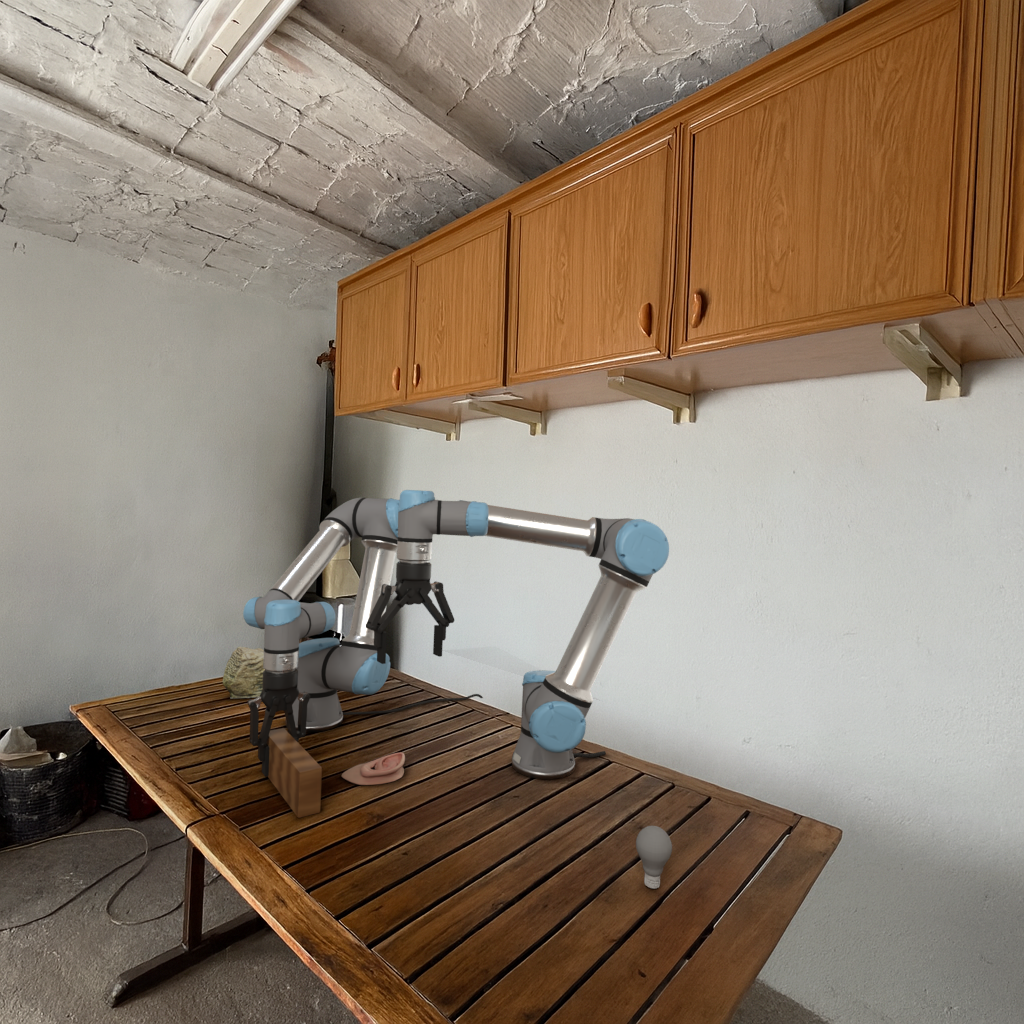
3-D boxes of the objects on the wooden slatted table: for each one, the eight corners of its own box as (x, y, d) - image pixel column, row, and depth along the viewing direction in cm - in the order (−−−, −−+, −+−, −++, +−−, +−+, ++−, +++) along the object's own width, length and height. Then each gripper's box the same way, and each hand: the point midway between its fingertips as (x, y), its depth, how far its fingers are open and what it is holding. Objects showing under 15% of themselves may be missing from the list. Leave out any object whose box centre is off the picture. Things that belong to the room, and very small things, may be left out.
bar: (262, 770, 145) (264, 731, 145) (282, 766, 148) (284, 727, 147) (298, 818, 125) (300, 772, 124) (320, 812, 127) (322, 767, 127)
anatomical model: (335, 763, 141) (358, 744, 152) (334, 781, 141) (357, 761, 152) (391, 771, 138) (410, 751, 149) (391, 789, 138) (410, 768, 149)
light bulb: (629, 875, 110) (632, 818, 110) (663, 875, 110) (666, 818, 110) (639, 897, 104) (642, 837, 104) (675, 897, 104) (678, 837, 104)
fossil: (218, 695, 195) (220, 647, 195) (278, 685, 208) (279, 640, 207) (228, 703, 189) (230, 653, 188) (289, 692, 201) (290, 645, 201)
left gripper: (244, 678, 135) (240, 786, 136) (324, 668, 145) (320, 769, 146) (235, 669, 141) (231, 773, 142) (313, 660, 152) (309, 757, 152)
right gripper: (367, 564, 127) (362, 669, 127) (471, 561, 142) (467, 656, 142) (352, 560, 133) (348, 661, 133) (454, 558, 148) (450, 648, 148)
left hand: (276, 771), depth 144 cm, fingers closed on bar, 4 cm apart
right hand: (410, 658), depth 138 cm, fingers open, 13 cm apart
